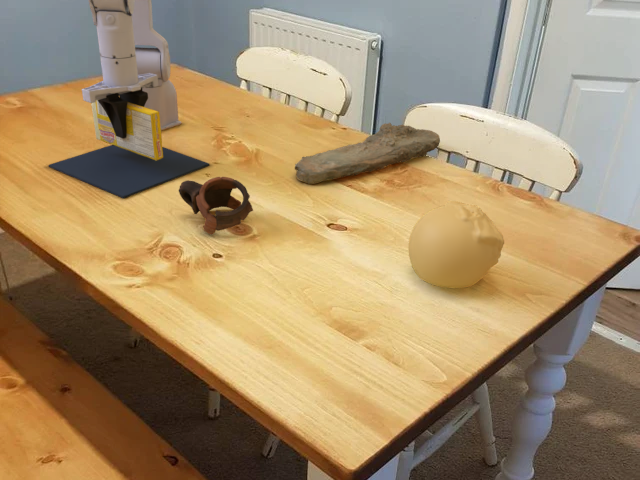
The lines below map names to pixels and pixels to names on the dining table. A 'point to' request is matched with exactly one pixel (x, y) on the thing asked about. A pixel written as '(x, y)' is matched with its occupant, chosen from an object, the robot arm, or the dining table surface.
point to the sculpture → (454, 245)
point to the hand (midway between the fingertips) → (126, 135)
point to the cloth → (127, 169)
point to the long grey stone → (368, 154)
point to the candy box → (132, 130)
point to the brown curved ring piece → (216, 202)
